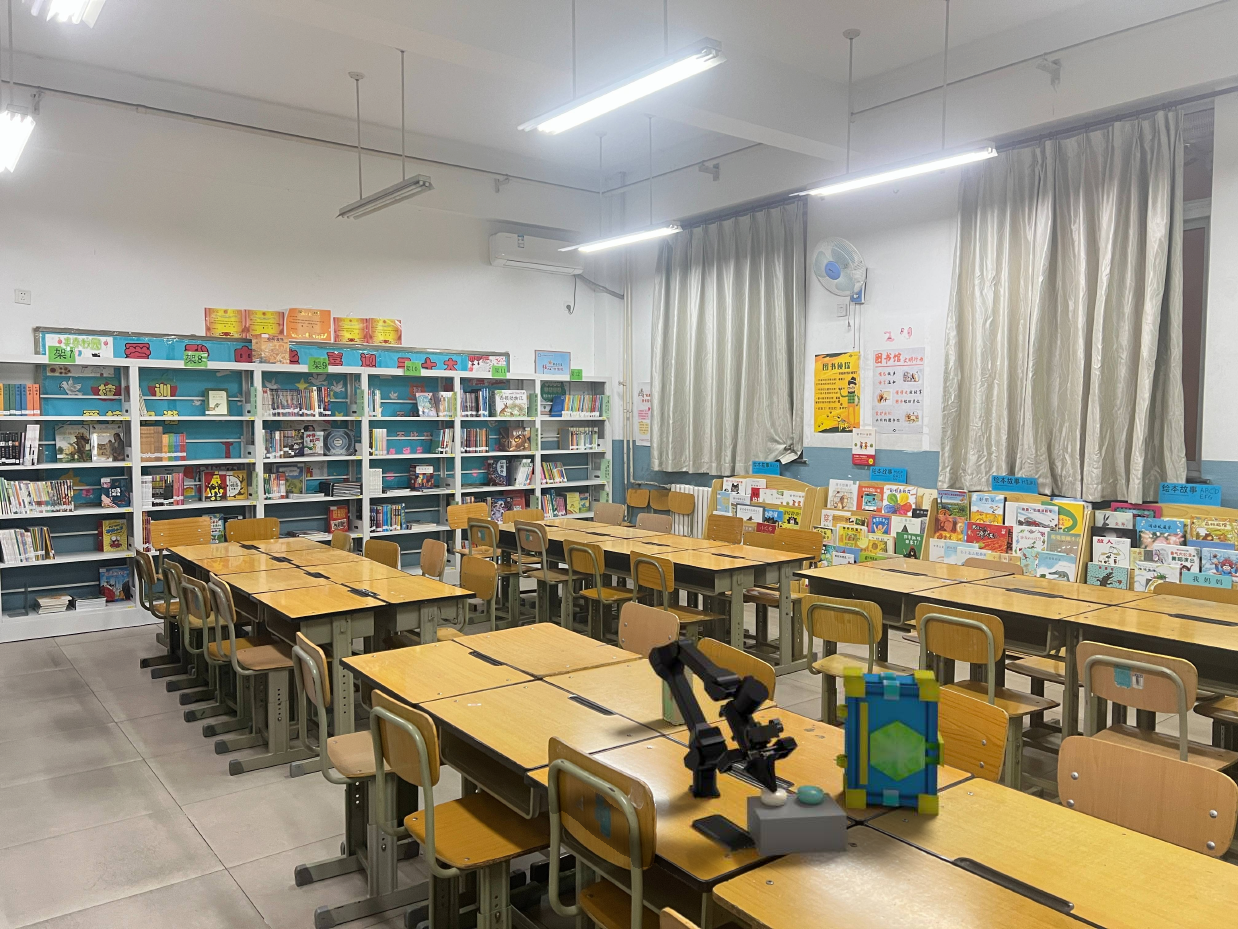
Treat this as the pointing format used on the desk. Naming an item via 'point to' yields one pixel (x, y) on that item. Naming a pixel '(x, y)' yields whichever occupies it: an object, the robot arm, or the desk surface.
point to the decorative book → (891, 739)
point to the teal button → (810, 794)
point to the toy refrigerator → (673, 701)
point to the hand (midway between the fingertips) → (775, 791)
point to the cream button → (773, 797)
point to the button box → (796, 826)
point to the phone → (724, 832)
